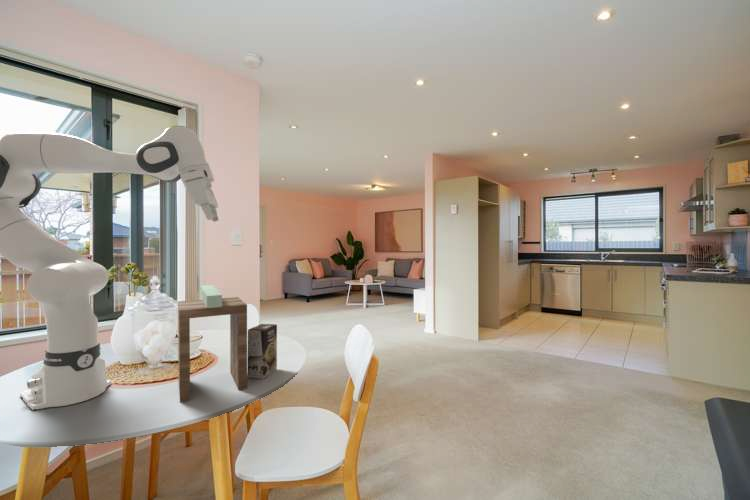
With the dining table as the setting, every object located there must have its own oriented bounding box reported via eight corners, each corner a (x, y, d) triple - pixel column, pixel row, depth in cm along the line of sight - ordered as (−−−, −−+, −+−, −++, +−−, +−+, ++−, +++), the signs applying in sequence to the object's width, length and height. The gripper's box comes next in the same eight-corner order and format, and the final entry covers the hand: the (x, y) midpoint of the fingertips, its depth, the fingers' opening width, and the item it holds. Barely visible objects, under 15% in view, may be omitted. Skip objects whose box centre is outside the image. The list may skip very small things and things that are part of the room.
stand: (178, 381, 109) (178, 301, 109) (238, 371, 119) (237, 297, 118) (179, 402, 96) (179, 310, 95) (247, 388, 105) (247, 304, 104)
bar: (200, 295, 121) (200, 285, 121) (212, 294, 123) (212, 284, 123) (207, 308, 98) (207, 296, 98) (222, 306, 101) (222, 295, 100)
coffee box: (264, 379, 112) (264, 330, 112) (246, 377, 113) (246, 329, 113) (277, 369, 121) (277, 324, 120) (261, 367, 122) (261, 323, 122)
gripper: (194, 186, 116) (209, 224, 117) (178, 175, 96) (196, 221, 98) (213, 181, 117) (228, 219, 119) (201, 169, 98) (218, 215, 99)
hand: (213, 220), depth 108 cm, fingers open, 8 cm apart
